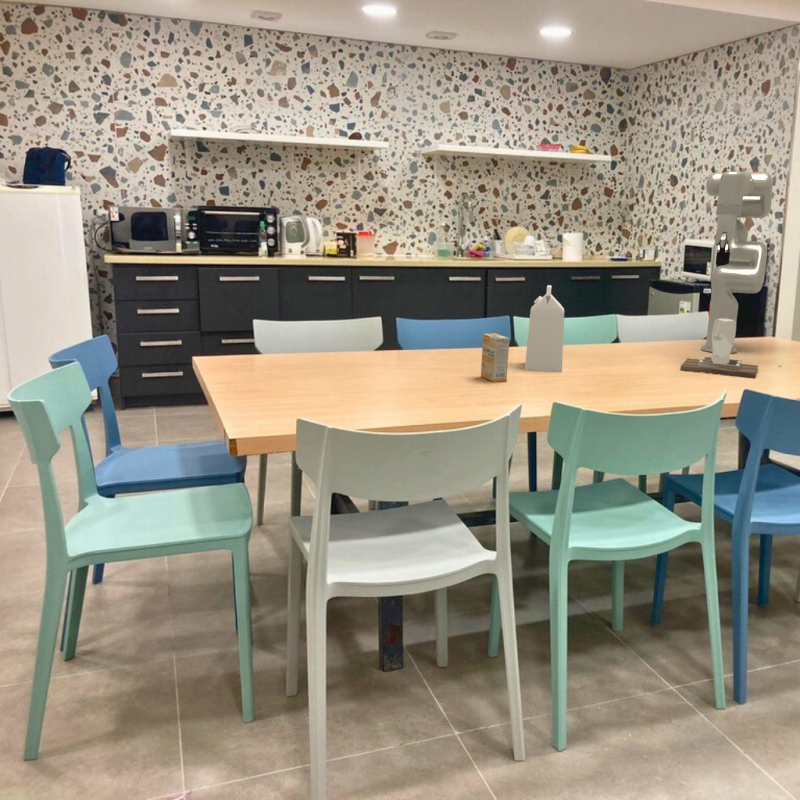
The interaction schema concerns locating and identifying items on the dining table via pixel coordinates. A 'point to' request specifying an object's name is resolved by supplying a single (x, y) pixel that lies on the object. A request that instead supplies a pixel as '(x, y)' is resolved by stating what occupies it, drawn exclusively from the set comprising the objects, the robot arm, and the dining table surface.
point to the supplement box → (495, 357)
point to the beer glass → (722, 340)
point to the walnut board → (720, 367)
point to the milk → (545, 334)
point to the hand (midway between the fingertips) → (722, 264)
